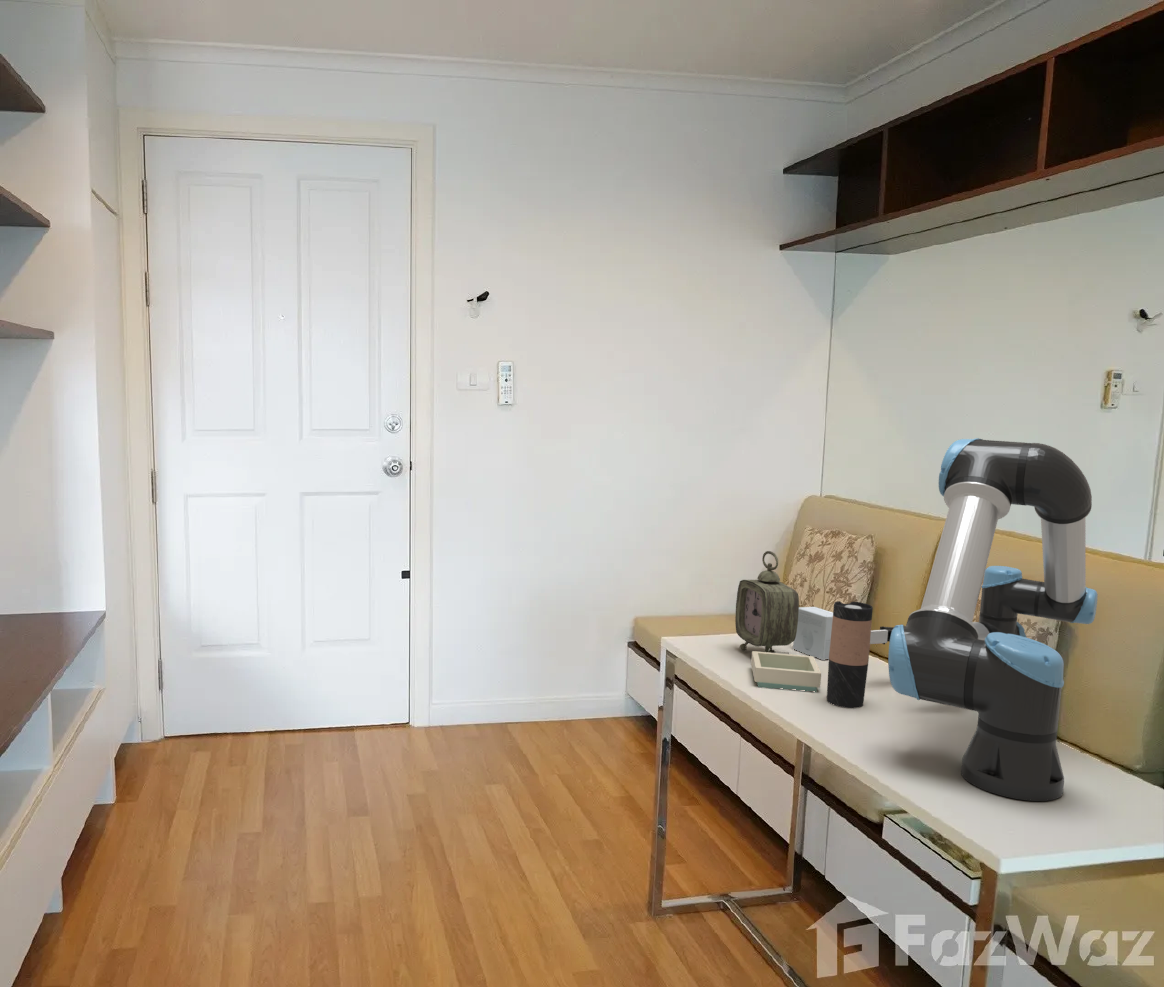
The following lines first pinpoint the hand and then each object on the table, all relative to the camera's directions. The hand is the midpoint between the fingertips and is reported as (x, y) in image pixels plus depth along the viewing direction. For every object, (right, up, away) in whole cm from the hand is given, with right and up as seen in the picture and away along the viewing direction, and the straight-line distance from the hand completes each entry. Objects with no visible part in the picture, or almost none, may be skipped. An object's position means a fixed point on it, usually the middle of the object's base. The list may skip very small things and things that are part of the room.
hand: (884, 646), depth 192 cm
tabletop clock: (-19, -7, +29) cm, 35 cm away
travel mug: (-9, -11, -3) cm, 14 cm away
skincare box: (-5, -8, +34) cm, 35 cm away
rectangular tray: (-18, -9, +12) cm, 24 cm away
